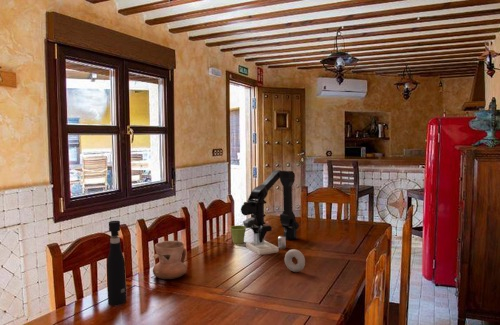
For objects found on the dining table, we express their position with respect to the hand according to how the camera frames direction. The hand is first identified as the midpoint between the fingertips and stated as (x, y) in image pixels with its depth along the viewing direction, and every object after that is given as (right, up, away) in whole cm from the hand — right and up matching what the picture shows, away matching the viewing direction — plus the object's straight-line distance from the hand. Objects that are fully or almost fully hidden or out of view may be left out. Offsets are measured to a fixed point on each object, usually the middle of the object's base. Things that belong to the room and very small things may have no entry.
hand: (258, 241), depth 217 cm
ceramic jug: (-39, -7, -40) cm, 57 cm away
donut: (+15, -6, -37) cm, 41 cm away
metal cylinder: (+12, -4, 0) cm, 13 cm away
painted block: (0, -1, 0) cm, 1 cm away
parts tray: (+2, -4, -3) cm, 5 cm away
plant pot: (-11, -3, +12) cm, 17 cm away
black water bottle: (-54, -9, -67) cm, 87 cm away
